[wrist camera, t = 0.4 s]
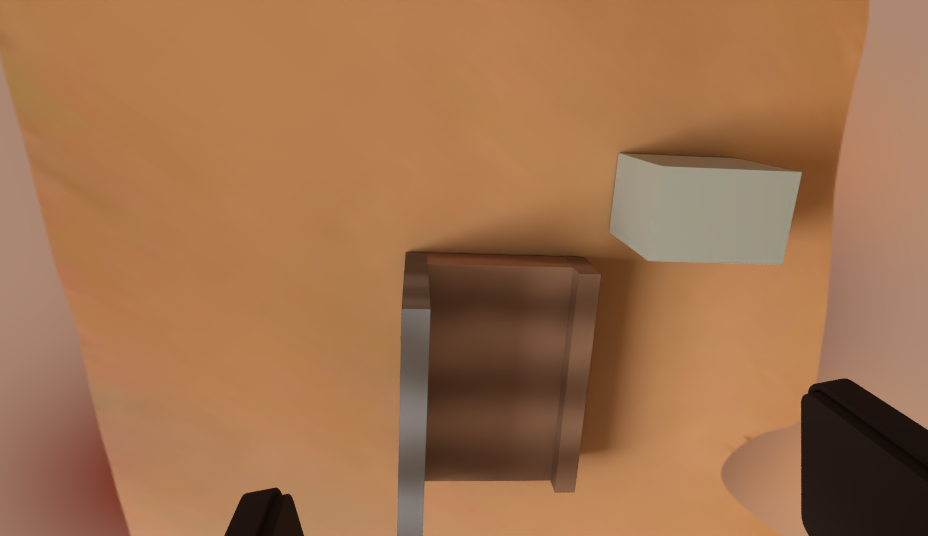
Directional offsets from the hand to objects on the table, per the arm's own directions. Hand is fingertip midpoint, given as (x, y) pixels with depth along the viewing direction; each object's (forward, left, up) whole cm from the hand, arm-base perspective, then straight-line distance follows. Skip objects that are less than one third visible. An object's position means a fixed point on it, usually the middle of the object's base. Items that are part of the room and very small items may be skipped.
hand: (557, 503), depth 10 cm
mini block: (0, +17, -34) cm, 38 cm away
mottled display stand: (+14, +4, -34) cm, 37 cm away
